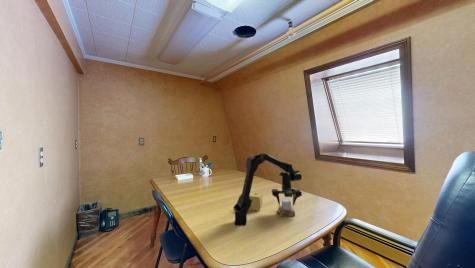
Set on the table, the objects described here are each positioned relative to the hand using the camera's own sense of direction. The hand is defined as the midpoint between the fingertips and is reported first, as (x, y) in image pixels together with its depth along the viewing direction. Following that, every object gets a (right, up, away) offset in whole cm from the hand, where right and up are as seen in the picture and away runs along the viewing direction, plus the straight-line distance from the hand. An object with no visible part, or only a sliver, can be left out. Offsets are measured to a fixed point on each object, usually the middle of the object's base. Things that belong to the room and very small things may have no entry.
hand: (286, 205), depth 127 cm
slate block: (0, -2, 0) cm, 2 cm away
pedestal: (0, -5, 0) cm, 5 cm away
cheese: (-20, -5, +9) cm, 23 cm away
